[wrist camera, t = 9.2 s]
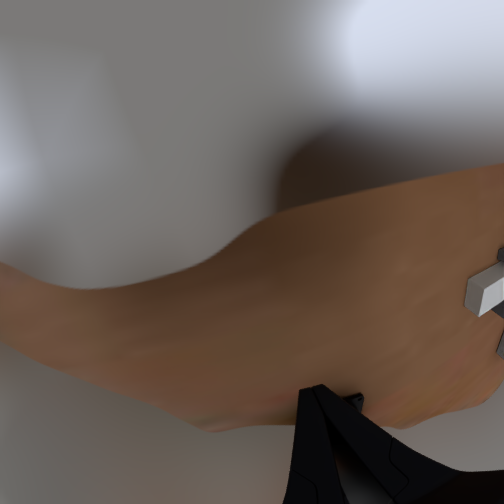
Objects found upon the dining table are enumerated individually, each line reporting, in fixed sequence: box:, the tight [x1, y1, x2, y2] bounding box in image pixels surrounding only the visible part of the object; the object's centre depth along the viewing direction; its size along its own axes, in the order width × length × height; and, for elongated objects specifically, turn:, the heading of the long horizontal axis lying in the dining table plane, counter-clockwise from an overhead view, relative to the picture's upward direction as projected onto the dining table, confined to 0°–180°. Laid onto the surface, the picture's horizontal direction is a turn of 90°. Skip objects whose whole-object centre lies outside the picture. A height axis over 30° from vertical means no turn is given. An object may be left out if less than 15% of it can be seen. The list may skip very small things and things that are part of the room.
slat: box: [464, 261, 504, 317], centre depth 23 cm, size 4×12×3 cm, turn 103°
